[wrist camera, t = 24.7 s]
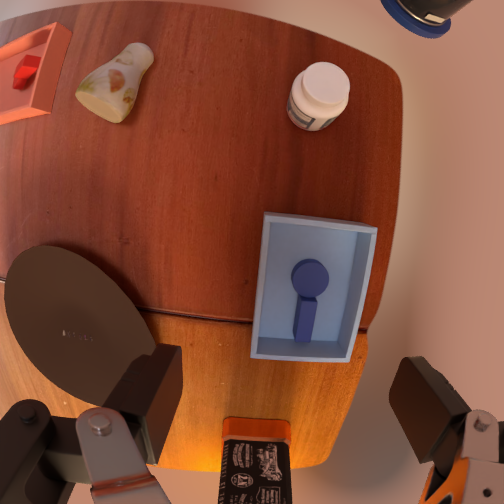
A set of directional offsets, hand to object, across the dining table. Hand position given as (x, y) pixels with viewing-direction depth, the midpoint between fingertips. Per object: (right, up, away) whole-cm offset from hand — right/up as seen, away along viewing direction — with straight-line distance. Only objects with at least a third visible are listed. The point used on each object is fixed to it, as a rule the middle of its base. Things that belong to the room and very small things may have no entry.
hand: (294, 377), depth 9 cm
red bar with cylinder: (-32, +29, +15) cm, 46 cm away
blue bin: (+5, +1, +23) cm, 24 cm away
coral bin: (-40, +31, +18) cm, 53 cm away
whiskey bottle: (-1, -25, +29) cm, 38 cm away
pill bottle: (+5, +20, +19) cm, 28 cm away
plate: (-27, -8, +26) cm, 38 cm away
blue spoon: (+4, -2, +23) cm, 24 cm away
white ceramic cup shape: (-16, +24, +19) cm, 35 cm away
